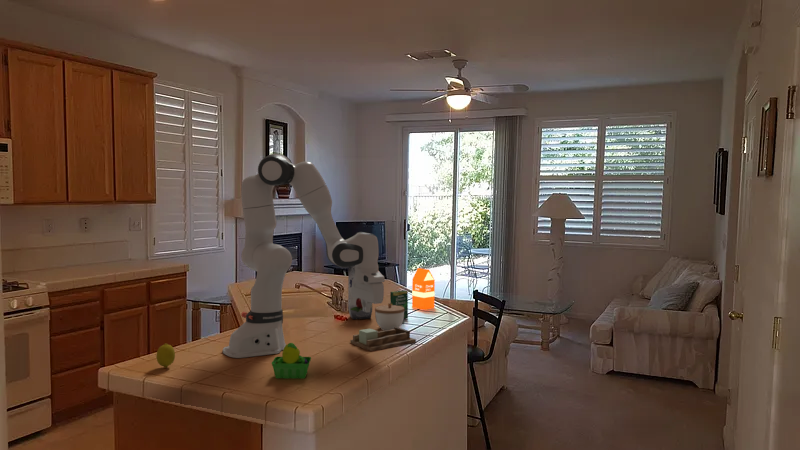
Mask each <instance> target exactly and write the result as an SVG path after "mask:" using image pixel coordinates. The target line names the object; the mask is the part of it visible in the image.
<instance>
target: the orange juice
mask: <svg viewBox="0 0 800 450" xmlns="http://www.w3.org/2000/svg"><path fill="white" fill-rule="evenodd" d="M431 272H432V271H430V269H428V268H419V267H417V269H416V272H415V273H414V275H413V277H412V282H411V283H412V289H411V290H412V291H411V293H412V294H411V295H412V296H411V297H412V299H411V301H412V302H411V303H412V305H411V307H412V308H415V309H420V310H429V309H435V283H436V281H435V280H436V279H434V278H435V277H434V276H433V274H432V273H431Z"/></svg>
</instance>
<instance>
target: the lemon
mask: <svg viewBox="0 0 800 450" xmlns="http://www.w3.org/2000/svg"><path fill="white" fill-rule="evenodd" d="M155 356H156V361H157V364H159V366H161V367H164V368H165V369H167V368H168V367H169V366H171V365H172V364H173V363H174V361H175V358H176V351H175V349H174V347H173V346H172V345H171V344H168V343H166V342H165V343H164V344H163V345H160V346H159V347H158V349H157V351H156V355H155Z"/></svg>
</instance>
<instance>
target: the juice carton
mask: <svg viewBox="0 0 800 450" xmlns="http://www.w3.org/2000/svg"><path fill="white" fill-rule="evenodd" d="M354 275H355V265H354V266H350V267H348V279H347V281H348V284H347V285H348V286H347V287H348V289H347V290H348V292H347V293H348V294H347V296H348V299H347V301H348V313H349V317H350V318H351V319H352V320H368V319H371V317H372V314H373V304H372V305H371V307H370V312H364V311H363V306H362V303H361V299H360V298H357V297H354V296H352V293H351V288H352V280H353V278H354Z"/></svg>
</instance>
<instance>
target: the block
mask: <svg viewBox="0 0 800 450" xmlns="http://www.w3.org/2000/svg"><path fill="white" fill-rule="evenodd" d="M378 332H379V331H378V330H376V329H373V328H365V329H359V331H358V334H359V342H360V343H363V344H366V340H371V339H376V338H378Z"/></svg>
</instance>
